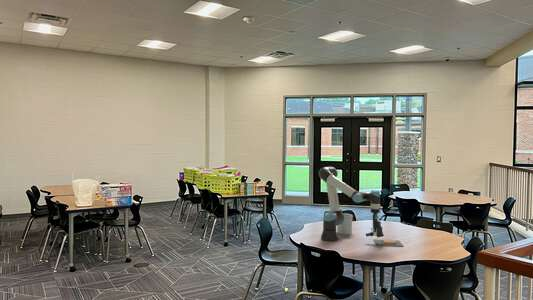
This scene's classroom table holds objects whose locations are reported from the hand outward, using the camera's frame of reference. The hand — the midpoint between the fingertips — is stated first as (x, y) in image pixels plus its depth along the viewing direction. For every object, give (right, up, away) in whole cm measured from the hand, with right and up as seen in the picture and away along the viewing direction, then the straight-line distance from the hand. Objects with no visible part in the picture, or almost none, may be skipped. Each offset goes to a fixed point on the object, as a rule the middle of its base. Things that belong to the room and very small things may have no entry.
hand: (374, 235), depth 338 cm
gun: (0, -2, 0) cm, 2 cm away
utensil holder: (-19, -6, +36) cm, 41 cm away
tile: (+7, -5, -1) cm, 9 cm away
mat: (+11, -7, -1) cm, 13 cm away
